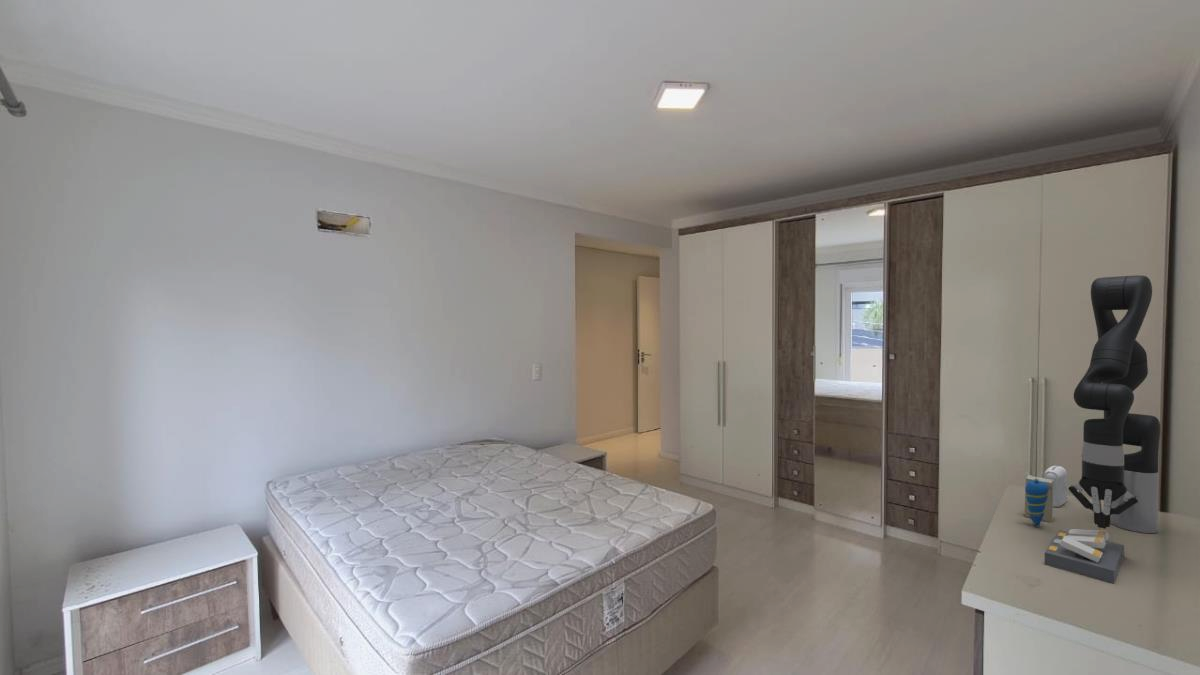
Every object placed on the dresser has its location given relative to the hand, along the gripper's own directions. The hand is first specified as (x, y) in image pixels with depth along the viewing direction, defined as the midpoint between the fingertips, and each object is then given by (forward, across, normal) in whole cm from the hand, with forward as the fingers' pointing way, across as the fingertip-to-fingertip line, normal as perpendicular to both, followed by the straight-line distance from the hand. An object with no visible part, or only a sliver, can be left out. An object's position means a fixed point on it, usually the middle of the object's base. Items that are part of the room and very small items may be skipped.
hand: (1102, 527), depth 124 cm
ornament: (+8, +14, -11) cm, 20 cm away
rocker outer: (+3, +2, +12) cm, 12 cm away
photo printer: (+8, +14, -39) cm, 43 cm away
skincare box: (+8, +16, -20) cm, 27 cm away
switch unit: (+8, +2, +6) cm, 10 cm away
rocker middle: (+3, +2, +6) cm, 7 cm away
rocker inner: (+3, +2, 0) cm, 4 cm away
